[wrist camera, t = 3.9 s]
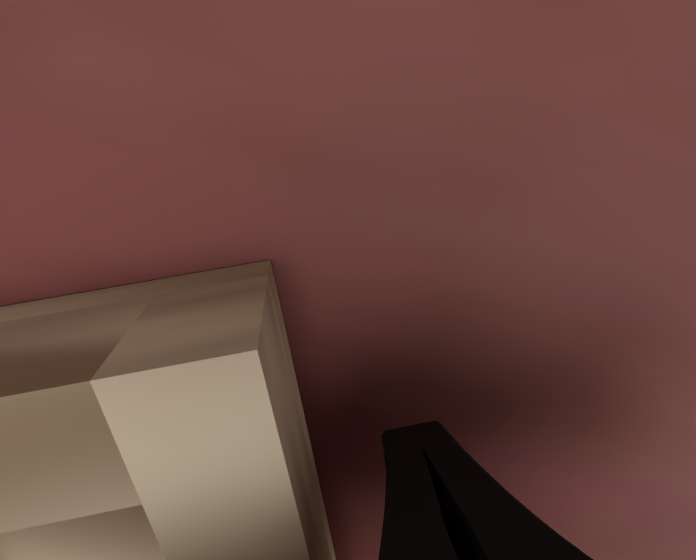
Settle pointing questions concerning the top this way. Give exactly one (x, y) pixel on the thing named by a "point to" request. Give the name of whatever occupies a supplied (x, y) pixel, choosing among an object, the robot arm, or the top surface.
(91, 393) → the socket block
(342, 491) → the top surface
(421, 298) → the top surface
